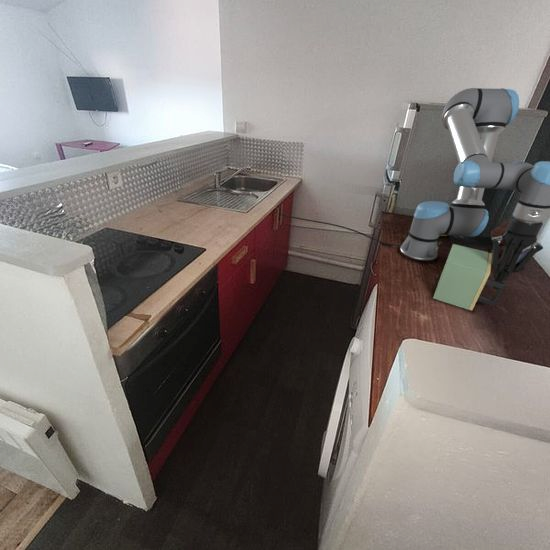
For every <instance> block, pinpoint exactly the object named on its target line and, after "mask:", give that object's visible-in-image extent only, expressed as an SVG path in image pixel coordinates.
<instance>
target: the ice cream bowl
mask: <svg viewBox="0 0 550 550" xmlns="http://www.w3.org/2000/svg"><path fill="white" fill-rule="evenodd" d="M509 221H510V220H506V221H504V222H503V223H501V224H500V225H498V226H497V227H495V228H493V229H492V230H491V231H490V237H491V238H492V237H498V236H501V235H502V233H503V232H505V230H506V228H507V226H508V224H509ZM503 247H505V244H504V241H503V239H502V240H501V243H500V244H499V253H498V256H502V253H503V251H504V250H502V249H503ZM492 250H493V248H492V249H491V250H489V253H492Z"/></svg>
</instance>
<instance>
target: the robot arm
mask: <svg viewBox="0 0 550 550" xmlns="http://www.w3.org/2000/svg"><path fill="white" fill-rule="evenodd" d="M519 97H520V95H519V93H517V91H516V90H514V89H511V88H510V89H509V88H503V87H501V88H478V87H469V88H465V89H463V90H461V91H458V92H457V93H455V94H454V95H453V96H452V97H450V98H449V100H447V103H445V106H444V108H443V110H442V115H441V121H442V124H443V126H444V128H445V129H446V130H448V132H449V136H450V139H451V143H452V146H453V149H454V152H455V156H456V159H457V162H458V164H457V165H456V167H455V169H454V172H453V183H454V185H455V186H457V187H459V188H458V192H457V196H456V199H454V200H453V201H452V202H451V203H450V205H449V203H447V202H446V201H445V202H444V201H438V200H429V201H428V200H427V201H424V202H421V203H419V204H418V205H417V206H416V209H415V212H414V213H413V219H412V221H411V225H410V228H409V232H408V235H407V237H406V238H405V240H404V241H403V242H402V244H397V243H390V242H385V241H382V240H379V239H377V238H374V237H373V236H370V235H367V234H365V233H363V232H362V231H358V230H356V229H353V228H350V227H346V226H342V225H339V224H334V223H330V222H324V221H318V220H313V219H308V218H301V217H297V216H292V215H287V214H284V213H280V214H279V215H280V216H283V217H287V218H291V219H296V220H301V221H306V222H313V223H319V224H322V225H323V224H324V225H330V226H333V227H338V228H342V229H345V230H348V231H351V232H354V233H357V234H359V235H361V236H364V237H366V238H369V239H371V240H373V241H375V242H377V243H380V244H384V245H387V246H395V247H399V253H400V254H401V256H403V257H404V258H406V259H408V260H411V261H414V262H420V263H431V262H434V261H436V260H437V257H438V250H439V246H438V240H439V237H440V236H439V235H447V236H450V237H462V238H475V237H477V236H479V235H480V234H481V233H482V232H484V230H485V228H486V227H487V224H488V222H489V217H490V216H489V211H488V210H487V209H486V208H485V206H486V204H485V202H484V201H483V197H484V192H485V189H492V190H493V189H495V190H509V191H510V190H511V191H516V192H519V193H521V194H520V197H519V198H518V201H517V204H516V206H515V208H514V210H513V213H512V217H510V219H509V220H508V221H509V224H508V226H507V228H506V230H505V232H503V233H502V235H501V236H498V237H491V238H490V240H491V242H492V249H493V250H492V249H491V250H492V261H491V268H493V269H495V271H494V272H493V275H492V276H493V280H494V281H497V282H501V283H503V281H507V280H508V279H509V276H510V274H512V273H513V272H515V273H519V272H520V271H521V270H522V269H523V268H524V267H525V266H526V265H527V264H528V262H529V261H530V260H531V259H532V258H533V257H534V256H535V255H536V254H537V253H538V252H540V251H542V250H543V249H544V247H543V245H542V244H541V243H540V242H538V238H537V237H538V235H539V233H540V231H541V229H542V227H543V222H545V221H546V219H547V217H548V214H549V213H550V161H548V160H547V161H545V160H544V161H543V160H542V161H537V162H536V163H534V165H533V164H531V163H529V162H527V161H526V162H525V161H524V162H523V161H513V162H500V161H499V162H497V161H496V162H495V161H493V157H494V154H495V151H496V150H495V149H496V147H497V142H498V138H499V135H500V134H501V133H502V132H504V131H505V130H506V126H509V125H510V124H511V123H512V122H513V121H514V120H515V117H517V114H518V111H519V108H520V98H519ZM502 239H503V241H504V244H505V246H504V249H503V250H502V251H503V253H502V255H500V258H499V255H498V253H499V244H500V243H501V240H502ZM527 247H530V248H529V249H528V250H527V252H526V253H525V254H524V255H523V256H522V257H521V258H520V259H519V261H518V262H517V260H518V258H519V256H520V254H521V253H522V251H523V249H525V248H527ZM516 262H517V263H516ZM497 289H498V288H497V287H493V290H497Z"/></svg>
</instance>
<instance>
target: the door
mask: <svg viewBox="0 0 550 550" xmlns="http://www.w3.org/2000/svg"><path fill="white" fill-rule="evenodd" d="M491 261H492V253H491V252H488V261H487V272H486V274H485V276H484V278H483V280H482V282H481V284H480V286H479V289H478V291H477V293H476V295H475V297H474V299H473V301H472V303H471V305H470V307H469V310H468V311H473V310H474V308H475V305H476V304H477V302H480V303H483V304H485V305H488V306H493V307H494V306H496V304H497V303H498V301H499V299H500V297H501V296H502V293H503V291H504V289H505V287H506V286H507V284H506V283H504V282H502V283H501V282H497V281H495V280H494V279H490V278H489V277H490V275H491V269H492V264H491ZM485 285H487V286H490V287H492V288H494V287H497V288H498V289H496V291H495V293H494V294H493V297H492V299H491V298H488V297H485V296H482V295H481V293H482V291H483V289H484V287H485Z"/></svg>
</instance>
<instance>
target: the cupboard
mask: <svg viewBox="0 0 550 550" xmlns="http://www.w3.org/2000/svg"><path fill="white" fill-rule="evenodd" d="M488 254H489V252H488V251H485V250H480V249H478V248H477V249H476V248H472V247H468V246H465V245H464V246H463V245H460V244H455V243H452V245H451V248H450V251H449V252H448V256H447V259H446V261H445V264H444V265H443V269H442V272H441V274H440V277H439V280H438V282H437V286H436V288H435V291H434V294H433V297H432V299H434V300H437V301H441V302H443V303H446V304H449V305H452V306H456V307H459V308H462V309H465V310H468V311H470V310H469V307H470V305H471V303H472V301H473V299H474V297H475V295H476V293H477V291H478V289H479V286H480V284H481V282H482V280H483V278H484V276H485V274H486V272H487V261H488Z"/></svg>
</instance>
